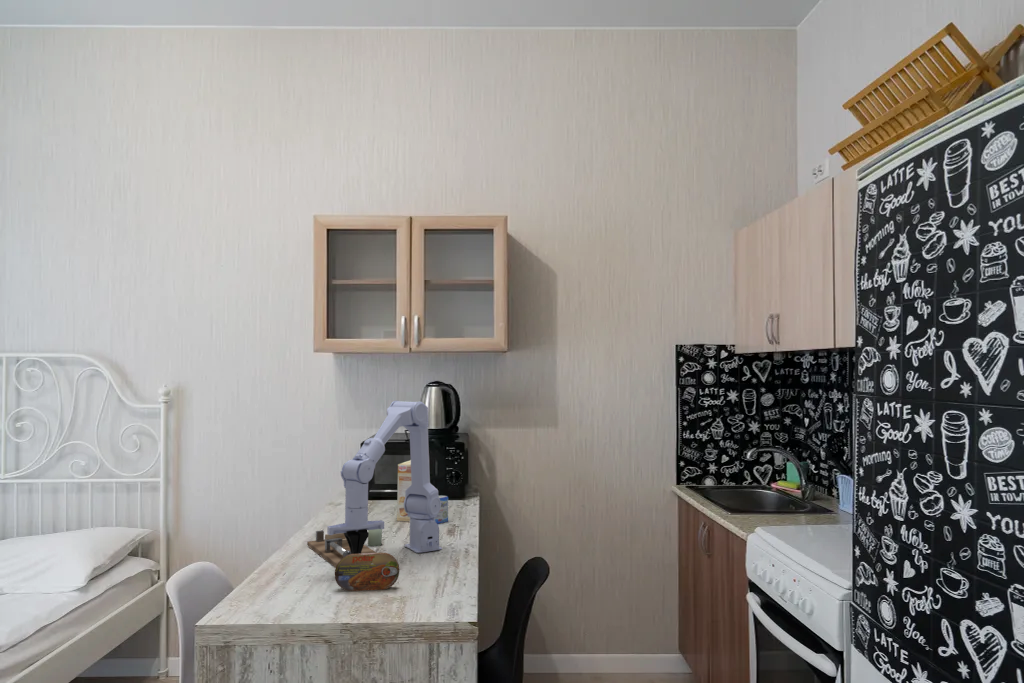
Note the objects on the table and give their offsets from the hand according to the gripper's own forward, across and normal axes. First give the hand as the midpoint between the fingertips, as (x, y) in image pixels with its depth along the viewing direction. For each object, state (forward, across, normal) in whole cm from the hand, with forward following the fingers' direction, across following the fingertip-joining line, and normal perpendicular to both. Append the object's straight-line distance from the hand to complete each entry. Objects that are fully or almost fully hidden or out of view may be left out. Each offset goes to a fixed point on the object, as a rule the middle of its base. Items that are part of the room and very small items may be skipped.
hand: (355, 559), depth 179 cm
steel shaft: (+2, 0, -13) cm, 13 cm away
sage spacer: (+3, -14, -24) cm, 28 cm away
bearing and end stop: (+2, 0, -25) cm, 25 cm away
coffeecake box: (+3, -39, -54) cm, 67 cm away
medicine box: (+3, -42, -43) cm, 60 cm away
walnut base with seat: (+3, -3, -19) cm, 19 cm away
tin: (+3, +2, +14) cm, 15 cm away
